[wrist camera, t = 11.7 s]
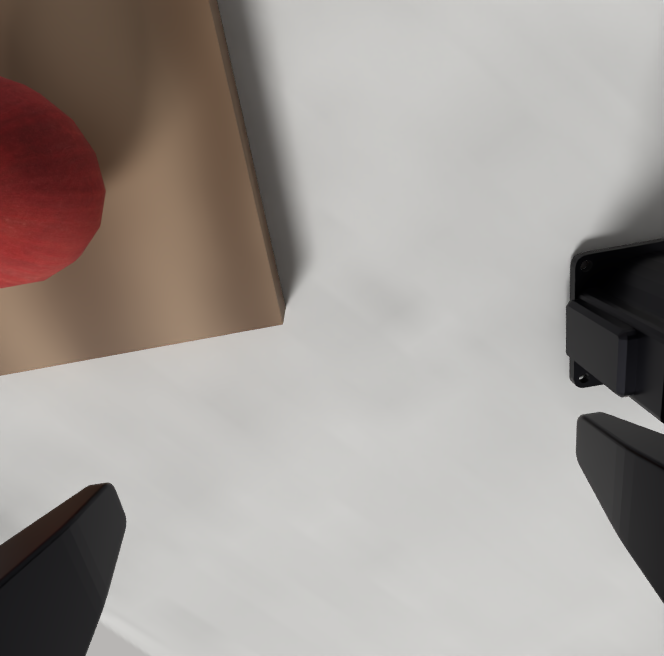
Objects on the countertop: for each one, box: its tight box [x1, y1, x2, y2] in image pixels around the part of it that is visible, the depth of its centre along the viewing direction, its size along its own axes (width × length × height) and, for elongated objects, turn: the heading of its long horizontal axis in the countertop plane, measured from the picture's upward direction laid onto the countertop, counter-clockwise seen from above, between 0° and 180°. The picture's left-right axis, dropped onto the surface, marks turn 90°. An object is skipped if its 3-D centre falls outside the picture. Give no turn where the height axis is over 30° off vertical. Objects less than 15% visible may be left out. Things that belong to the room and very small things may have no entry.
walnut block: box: [0, 0, 286, 376], centre depth 18 cm, size 14×14×3 cm
